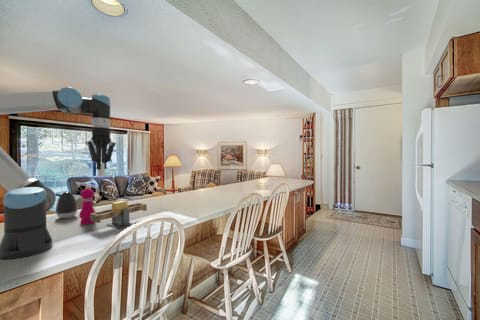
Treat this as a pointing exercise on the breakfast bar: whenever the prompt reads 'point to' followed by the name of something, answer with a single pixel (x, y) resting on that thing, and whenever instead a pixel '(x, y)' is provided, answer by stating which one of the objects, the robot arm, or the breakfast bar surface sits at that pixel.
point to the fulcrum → (121, 220)
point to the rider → (119, 205)
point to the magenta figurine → (86, 206)
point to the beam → (115, 212)
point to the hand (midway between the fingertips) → (101, 176)
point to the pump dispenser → (66, 205)
